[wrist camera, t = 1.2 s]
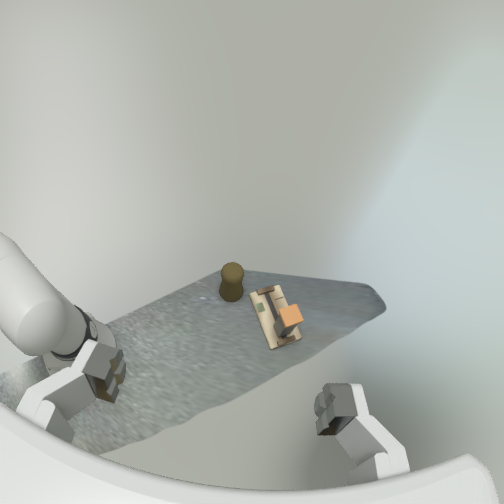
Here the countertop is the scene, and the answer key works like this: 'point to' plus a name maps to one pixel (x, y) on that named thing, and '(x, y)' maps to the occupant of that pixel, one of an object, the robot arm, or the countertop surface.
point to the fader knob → (287, 320)
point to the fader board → (272, 315)
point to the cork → (231, 282)
